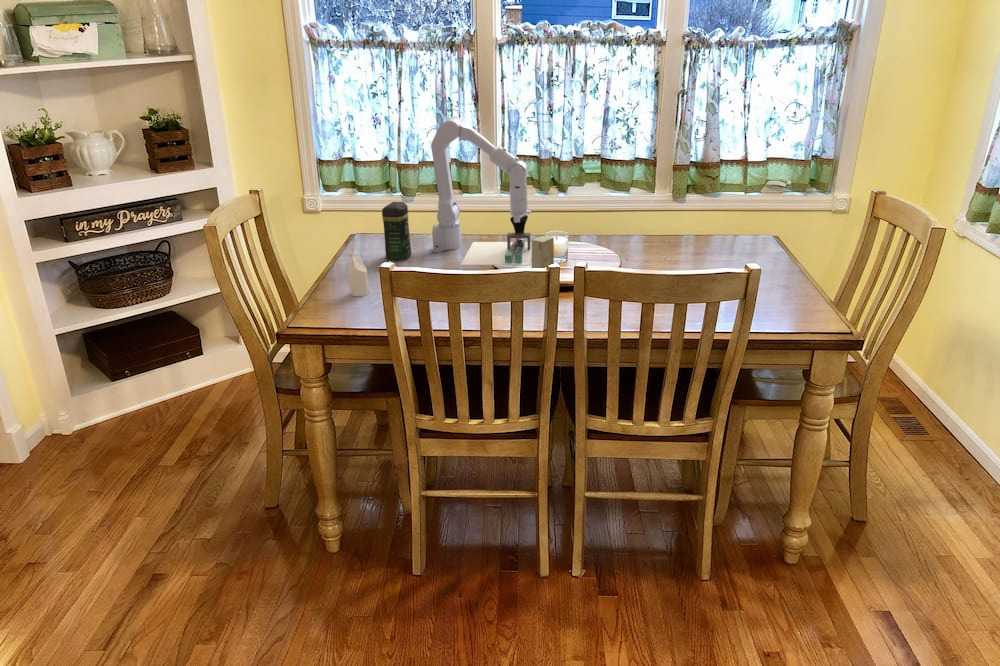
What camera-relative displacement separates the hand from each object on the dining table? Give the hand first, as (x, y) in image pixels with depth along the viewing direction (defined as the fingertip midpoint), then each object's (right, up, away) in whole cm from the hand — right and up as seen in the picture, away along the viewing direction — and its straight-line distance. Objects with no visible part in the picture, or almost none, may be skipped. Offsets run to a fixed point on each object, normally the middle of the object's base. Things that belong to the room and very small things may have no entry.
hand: (519, 237), depth 267 cm
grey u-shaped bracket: (0, -4, -1) cm, 4 cm away
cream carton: (-49, -21, -32) cm, 62 cm away
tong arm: (-3, -6, -7) cm, 10 cm away
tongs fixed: (0, -6, -6) cm, 8 cm away
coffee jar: (-41, -7, -1) cm, 41 cm away
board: (-7, -7, -4) cm, 10 cm away
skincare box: (+7, -15, -25) cm, 30 cm away
